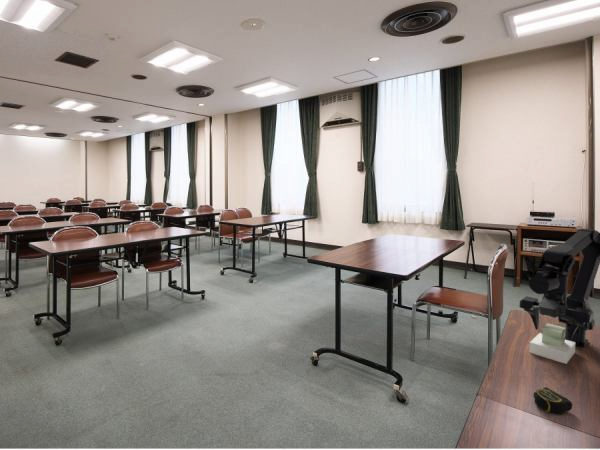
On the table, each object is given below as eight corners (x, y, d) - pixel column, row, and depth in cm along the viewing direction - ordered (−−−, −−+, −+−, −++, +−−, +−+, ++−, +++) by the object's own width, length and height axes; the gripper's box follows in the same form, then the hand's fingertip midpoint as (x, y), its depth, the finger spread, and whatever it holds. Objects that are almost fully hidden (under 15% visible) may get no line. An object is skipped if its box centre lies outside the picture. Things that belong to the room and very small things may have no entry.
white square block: (539, 343, 121) (539, 332, 121) (574, 353, 114) (575, 342, 113) (529, 353, 115) (529, 342, 114) (566, 365, 107) (567, 353, 107)
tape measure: (573, 414, 86) (574, 400, 85) (553, 420, 84) (554, 406, 83) (546, 397, 92) (547, 384, 92) (527, 403, 90) (527, 390, 90)
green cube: (546, 337, 117) (547, 323, 117) (564, 342, 113) (565, 327, 113) (541, 342, 114) (542, 327, 113) (560, 347, 110) (561, 332, 110)
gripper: (514, 287, 113) (512, 332, 115) (586, 301, 99) (583, 352, 101) (526, 280, 120) (524, 322, 122) (595, 292, 106) (591, 340, 108)
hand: (553, 333), depth 113 cm, fingers open, 9 cm apart
